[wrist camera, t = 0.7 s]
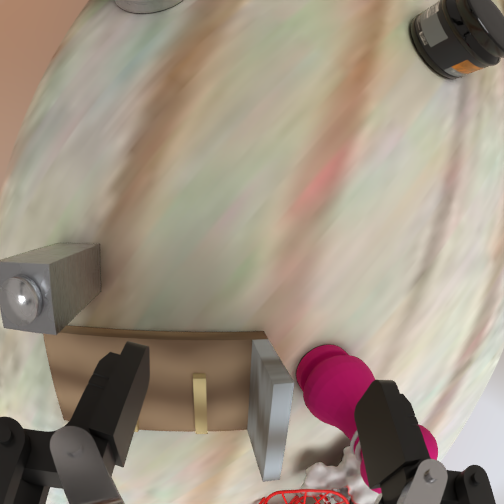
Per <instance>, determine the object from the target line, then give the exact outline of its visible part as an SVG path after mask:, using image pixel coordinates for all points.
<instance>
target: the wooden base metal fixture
mask: <svg viewBox="0 0 504 504" xmlns="http://www.w3.org/2000/svg"><path fill="white" fill-rule="evenodd" d="M43 335H44V341H45V346H46V352H47V357H48V361H49V366H50V370H51V375H52V379H53V383H54V387H55V391H56V394H57V398H58V401H59V405H60V408H61V412H62V415H63V418H64V420H67V421H70V419H71V417H72V415H73V413H74V411H75V409H76V407H77V405H78V402H79V400H80V398H81V396H82V394H83V392H84V390H85V388H86V386H87V385H88V382H89V380H90V378H91V376H92V375H93V372H94V370H95V368H96V366H97V364H98V362H99V360H101V359H102V358H103V357H104V356H106V355H107V354H108V353H109V352H113V353H116V354H121V352H122V350H123V348H124V346H125V344H126V342H127V341H130V342H134V343H138V344H142V345H146V346H149V350H150V380H149V386H148V390H147V393H146V396H145V399H144V402H143V405H142V408H141V411H140V415H139V418H138V421H137V424H136V427H135V430H134V432H138V429H139V430H156V431H196V434H208V433H207V431H231V430H248V434H249V437H250V441H251V444H252V447H253V451H254V454H255V457H256V461H257V464H258V467H259V470H260V474H261V477H262V480H263V482H264V481H272V480H279V479H280V474H281V469H282V463H283V457H284V451H285V445H286V438H287V432H288V425H289V418H290V411H291V404H292V397H293V389H294V381H293V380H292V378H291V376H290V375H289V373H288V371H287V370H286V368H285V366H284V365H283V363H282V361H281V360H280V358H279V356H278V355H277V353H276V351H275V350H274V348H273V346H272V345H271V343H270V341H269V340H268V338H267V336H266V335H265V333H264V331H256V332H169V331H141V330H121V329H106V328H92V327H80V326H69V325H66V326H65V327H64V328H63V329H62V330H61V331H60V332H59V333H58V334H57V335H50V334H43Z"/></svg>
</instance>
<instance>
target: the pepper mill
mask: <svg viewBox="0 0 504 504" xmlns="http://www.w3.org/2000/svg"><path fill="white" fill-rule="evenodd" d="M296 377H297V382H298V384H299V386H300V387H301V389H302V391H303V397H304V401H305V404H306V406H307V408H308V409H309V410H310V412H311V413H312V414H313V415H314V416H315V417H317V418H318V419H319V420H321V421H323V422H325V423H327V424H330V425H332V426H335V427H337V428H339V429H340V430H341V431H343V432H344V434H345V435H346V436H347V437H348V438H349V439H350V441H351V443H350V450H351V452H352V454H353V455H355V457H356V459H357V461H358V462H360V463H361V465H360V473H361V477H362V479H363V481H364V483H365V484H366V485H367V486H368V487H369V483H368V478H367V473H366V469H365V464H364V459H363V454H362V450H361V445H360V440H359V436H358V432H357V427H356V423H355V418H354V411H355V407H356V405H357V403H358V402H359V400H360V399H361V397H362V396H363V395H364V393H365V392H366V390H367V389H368V387H369V386H370V384H371V383H372V382H373V381H374V380H375V378H374V376H373V374H372V372H371V370H370V369H369V367H368V366H367V365H366V364H365V363H364V362H363V361H362V360H360V359H359V358H357V357H355V356H350V355H348V354H347V353H346V352H345V351H344V350H343V349H342V348H340V347H338V346H335V345H322V346H319V347H317V348H314V349H313V350H311V351H310V352H308V353H307V354H306V355H305V356H304V357H303V359H302V360H301V362H300V363H299V365H298V368H297V373H296ZM418 426H419V427H420V430H421V432H422V435H423V438H424V441H425V444H426V446H427V449H428V452H429V455H430V458H431V459H435V460H437V457H438V447H437V443H436V440H435V438H434V437H433V435H432V434H431V433H430V431H429V430H427V429H426V428H425V427H423V426H421V425H418ZM371 490H372V491H374V492H376V493H378V494H380V493H382V492H381V488H377V489H371Z"/></svg>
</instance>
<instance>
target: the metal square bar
mask: <svg viewBox="0 0 504 504" xmlns="http://www.w3.org/2000/svg"><path fill="white" fill-rule="evenodd" d="M100 292H101V270H100V244H88V243H56V244H53V245H49V246H46V247H42V248H39V249H35V250H32V251H28V252H25V253H22V254H18V255H15V256H12V257H8V258H5V259H2V260H0V308H1V314H2V320H3V326H4V328H8V329H14V330H21V331H28V332H35V333H42V334H50V335H57V334H58V333H59V332H60V331H61V330H62V329H63V328H64V327H65V326H66V325H67V324H68V323H69V322H70V321H71V320H72V319H73V318H74V317H75V316H76V315H77V314H78V313H79V312H80V311H81V310H82V309H84V308H85V307H86V306H87V305H88V304H89V303H90V302H91V301H92V300H93V299H94V298H95V297H96V296H97V295H98V294H99V293H100Z"/></svg>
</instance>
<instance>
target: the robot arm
mask: <svg viewBox="0 0 504 504" xmlns="http://www.w3.org/2000/svg"><path fill="white" fill-rule="evenodd" d="M114 1H115V3H116V4H117V6H119V7H120V8H122V9H123V10H126V11H128V12H133V13H152V12H157V11H161V10H165V9H167V8H170V7H172V6H174V5H176V4H178V3H180V2H181V1H182V0H114ZM149 380H150V350H149V346H146V345H142V344H138V343H134V342H130V341H127V342H126V344H125V346H124V348H123V350H122V352H121V354H116V353H113V352H109V353H108V354H107V355H106V356H104V357H103V358H102V359H101V360H99V362H98V364H97V366H96V368H95V370H94V372H93V375H92V376H91V378H90V380H89V382H88V385H87V386H86V388H85V390H84V392H83V394H82V396H81V398H80V400H79V402H78V405H77V407H76V409H75V411H74V413H73V415H72V417H71V419H70V421H69V422H68V424H67V425H65V426H64V427H62V428H60V429H58V430H57V431H52V432H44V431H36V430H29V429H23V428H22V426H21V425H20V424H19V423H18V422H17V421H16V420H14V419H12V418H10V417H0V504H45V503H46V500H47V496H48V492H49V489H50V487H54V488H62V489H64V491H65V494H66V496H67V499H68V501H69V504H125V503H124V501H123V499H122V498H121V496H120V494H119V492H118V490H117V488H116V486H115V484H114V482H113V480H112V477H111V476H112V473H113V469H114V466H115V465H118V466H121V467H124V464H125V461H126V457H127V454H128V450H129V447H130V444H131V440H132V437H133V434H134V430H135V427H136V424H137V421H138V418H139V415H140V411H141V408H142V405H143V402H144V399H145V396H146V393H147V390H148V386H149ZM354 418H355V423H356V427H357V432H358V436H359V440H360V445H361V450H362V454H363V459H364V464H365V469H366V473H367V478H368V483H369V489H377V488H381V492H382V493H380V494H379V495H378V497H377V499H376V500H375V502H374V504H496V503H495V500H494V496H493V492H492V489H491V486H490V482H489V479H488V476H487V473H486V472H485V470H484V469H483V468H481V467H480V466H478V465H471V466H469V467H468V468H466V469H465V470H464V471H463V472H458V471H449V470H446V468H445V467H444V465H443V464H442V463H441V462H439V461H437V460H435V459H431V458H430V455H429V452H428V449H427V446H426V444H425V441H424V438H423V435H422V432H421V430H420V427H419V426H418V421H417V419H416V417H415V413H414V411H413V408H412V406H411V403H410V402H409V401H408V400H407V398H406V397H405V396H404V395H403V394H400V393H399V390H398V387H397V385H396V383H395V382H394V381H393V380H374V381H373V382H372V383H371V384H370V386H369V387H368V389H367V390H366V392H365V393H364V395H363V396H362V397H361V399H360V400H359V402H358V403H357V405H356V407H355V411H354Z"/></svg>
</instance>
